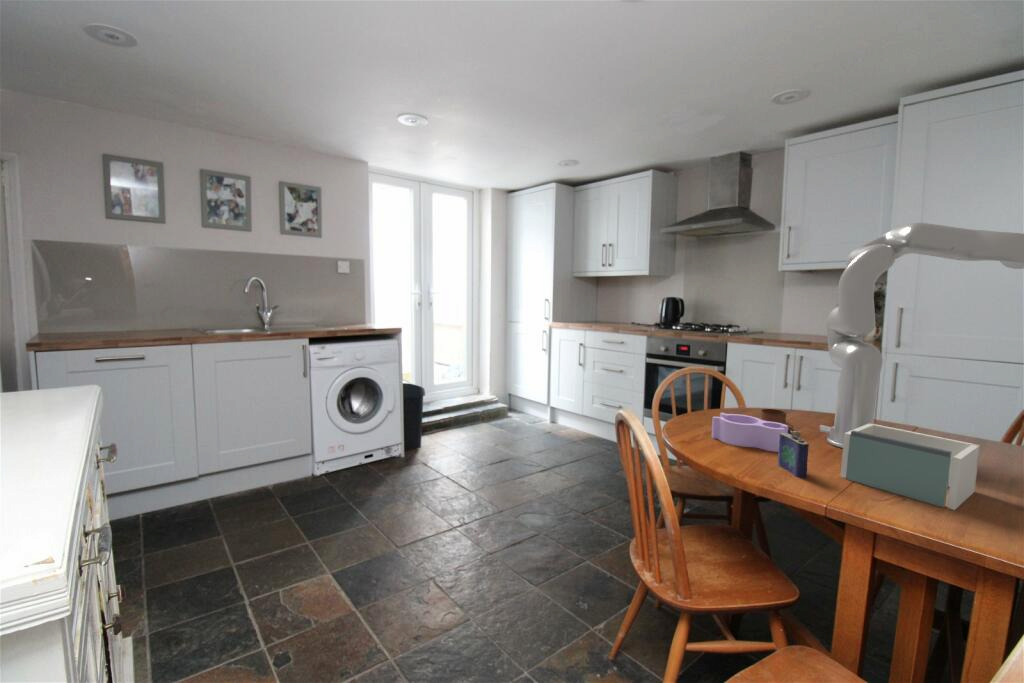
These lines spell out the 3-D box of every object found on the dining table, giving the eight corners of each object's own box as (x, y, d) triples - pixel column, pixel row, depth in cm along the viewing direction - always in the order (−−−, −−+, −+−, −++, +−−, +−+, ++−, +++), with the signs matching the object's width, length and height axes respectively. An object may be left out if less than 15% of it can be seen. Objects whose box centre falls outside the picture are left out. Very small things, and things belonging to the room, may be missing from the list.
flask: (774, 467, 124) (777, 424, 123) (786, 467, 124) (789, 425, 123) (798, 482, 114) (802, 436, 113) (811, 482, 114) (815, 437, 113)
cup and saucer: (751, 422, 166) (752, 405, 166) (790, 426, 162) (791, 409, 161) (754, 432, 155) (755, 414, 155) (796, 436, 151) (797, 418, 150)
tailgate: (848, 478, 114) (853, 430, 113) (945, 506, 100) (951, 451, 98) (846, 479, 114) (851, 431, 112) (943, 507, 99) (950, 452, 98)
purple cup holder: (790, 445, 142) (791, 423, 141) (778, 455, 133) (780, 432, 132) (722, 431, 156) (723, 411, 155) (707, 440, 147) (709, 418, 146)
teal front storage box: (865, 467, 124) (869, 423, 123) (974, 495, 107) (980, 445, 106) (840, 480, 115) (844, 433, 114) (954, 514, 98) (960, 459, 97)
